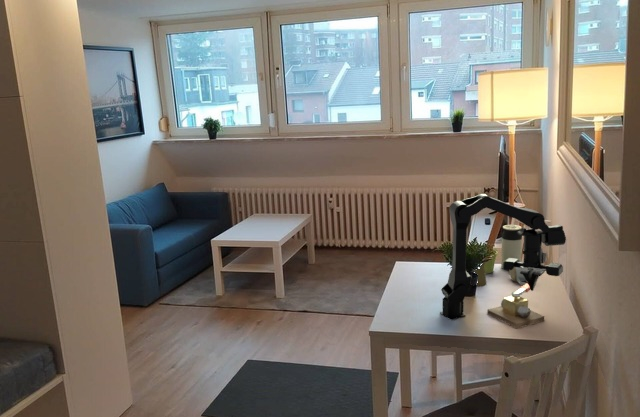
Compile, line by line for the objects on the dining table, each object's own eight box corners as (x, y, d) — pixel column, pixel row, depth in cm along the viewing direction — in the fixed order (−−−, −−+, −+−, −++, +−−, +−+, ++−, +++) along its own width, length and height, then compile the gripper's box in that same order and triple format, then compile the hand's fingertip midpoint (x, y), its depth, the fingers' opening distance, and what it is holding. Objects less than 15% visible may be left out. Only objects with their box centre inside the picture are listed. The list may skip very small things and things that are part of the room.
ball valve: (519, 319, 192) (520, 303, 191) (498, 309, 201) (499, 294, 200) (532, 316, 194) (533, 300, 193) (511, 306, 203) (511, 291, 202)
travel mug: (501, 270, 245) (502, 229, 241) (500, 264, 253) (501, 224, 249) (521, 271, 243) (523, 229, 239) (519, 265, 251) (521, 224, 247)
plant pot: (477, 275, 240) (477, 255, 238) (471, 268, 249) (471, 248, 247) (500, 274, 240) (500, 254, 238) (493, 267, 249) (493, 247, 248)
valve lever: (517, 298, 195) (517, 295, 194) (510, 296, 196) (510, 293, 196) (533, 288, 203) (533, 284, 203) (526, 286, 205) (526, 283, 205)
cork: (487, 286, 228) (487, 259, 225) (471, 286, 229) (471, 259, 226) (485, 281, 233) (486, 254, 231) (470, 280, 235) (470, 254, 232)
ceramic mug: (507, 277, 236) (508, 259, 234) (527, 276, 236) (528, 258, 234) (517, 287, 226) (518, 268, 224) (538, 286, 226) (539, 267, 224)
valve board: (516, 328, 190) (516, 323, 189) (487, 313, 202) (487, 309, 202) (544, 320, 194) (544, 316, 194) (514, 306, 207) (514, 302, 206)
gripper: (567, 244, 199) (566, 287, 202) (513, 238, 210) (513, 279, 213) (558, 252, 190) (557, 297, 193) (502, 246, 201) (502, 289, 204)
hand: (532, 290), depth 201 cm, fingers closed
